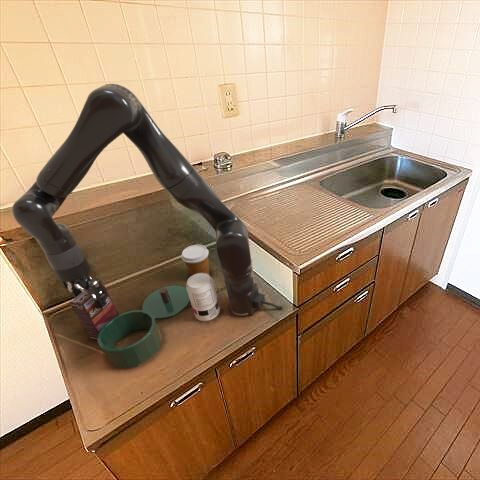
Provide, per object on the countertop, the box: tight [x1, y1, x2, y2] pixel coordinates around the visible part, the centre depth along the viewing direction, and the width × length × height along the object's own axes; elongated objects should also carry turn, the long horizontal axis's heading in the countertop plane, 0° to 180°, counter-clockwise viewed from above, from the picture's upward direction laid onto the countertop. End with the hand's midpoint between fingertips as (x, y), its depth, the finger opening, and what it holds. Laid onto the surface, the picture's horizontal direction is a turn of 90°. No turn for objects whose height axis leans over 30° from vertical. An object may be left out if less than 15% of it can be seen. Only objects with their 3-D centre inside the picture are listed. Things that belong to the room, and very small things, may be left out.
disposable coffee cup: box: [181, 244, 210, 277], centre depth 119 cm, size 10×10×12 cm
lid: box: [141, 285, 191, 320], centre depth 109 cm, size 16×16×6 cm
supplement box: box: [69, 284, 120, 340], centre depth 97 cm, size 9×5×16 cm, turn 168°
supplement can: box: [185, 273, 221, 322], centre depth 103 cm, size 8×8×15 cm
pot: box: [97, 309, 163, 370], centre depth 94 cm, size 15×15×8 cm
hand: (92, 302), depth 94 cm, fingers open, 8 cm apart
